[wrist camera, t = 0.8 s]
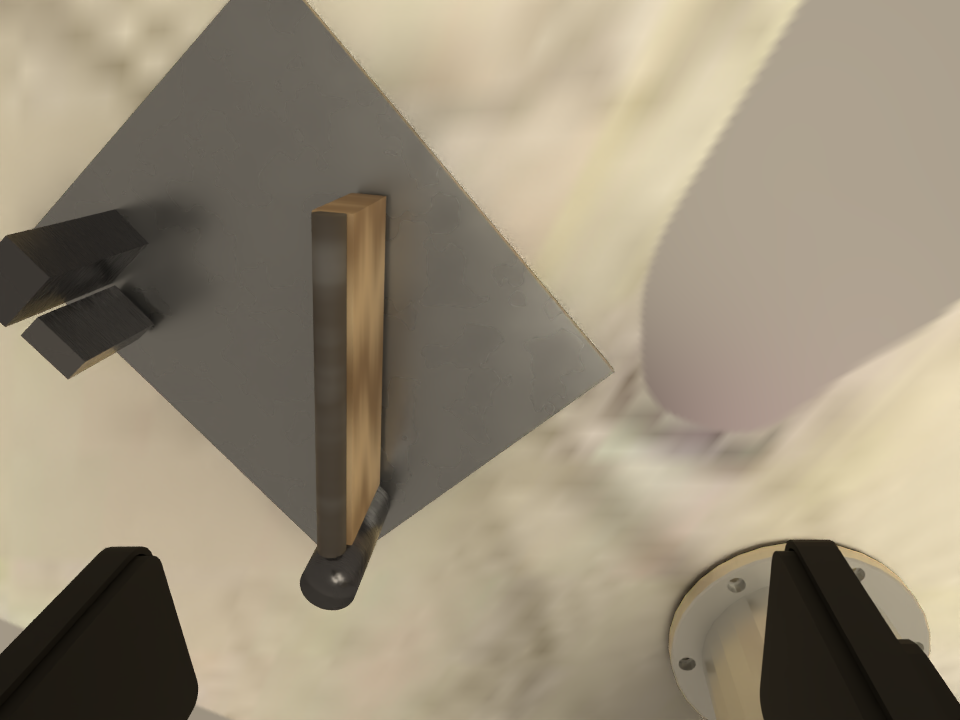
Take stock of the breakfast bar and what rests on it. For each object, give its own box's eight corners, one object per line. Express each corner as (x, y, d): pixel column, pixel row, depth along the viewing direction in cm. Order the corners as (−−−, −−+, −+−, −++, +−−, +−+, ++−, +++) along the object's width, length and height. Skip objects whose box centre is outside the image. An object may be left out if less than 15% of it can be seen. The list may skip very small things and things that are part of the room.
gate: (379, 483, 33) (345, 560, 28) (350, 480, 33) (309, 555, 28) (386, 196, 28) (345, 218, 23) (351, 192, 28) (301, 214, 23)
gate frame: (612, 368, 31) (629, 438, 24) (342, 560, 36) (297, 660, 30) (271, -40, 26) (180, -88, 20) (21, 250, 32) (-116, 288, 25)
